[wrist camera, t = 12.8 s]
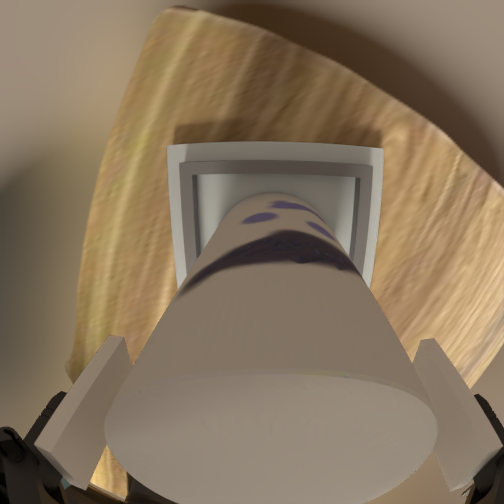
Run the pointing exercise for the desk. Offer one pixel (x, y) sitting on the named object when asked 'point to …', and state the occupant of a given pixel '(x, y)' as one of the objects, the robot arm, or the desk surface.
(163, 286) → the desk surface
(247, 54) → the desk surface
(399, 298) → the desk surface
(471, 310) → the desk surface
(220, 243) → the container
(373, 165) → the base board
